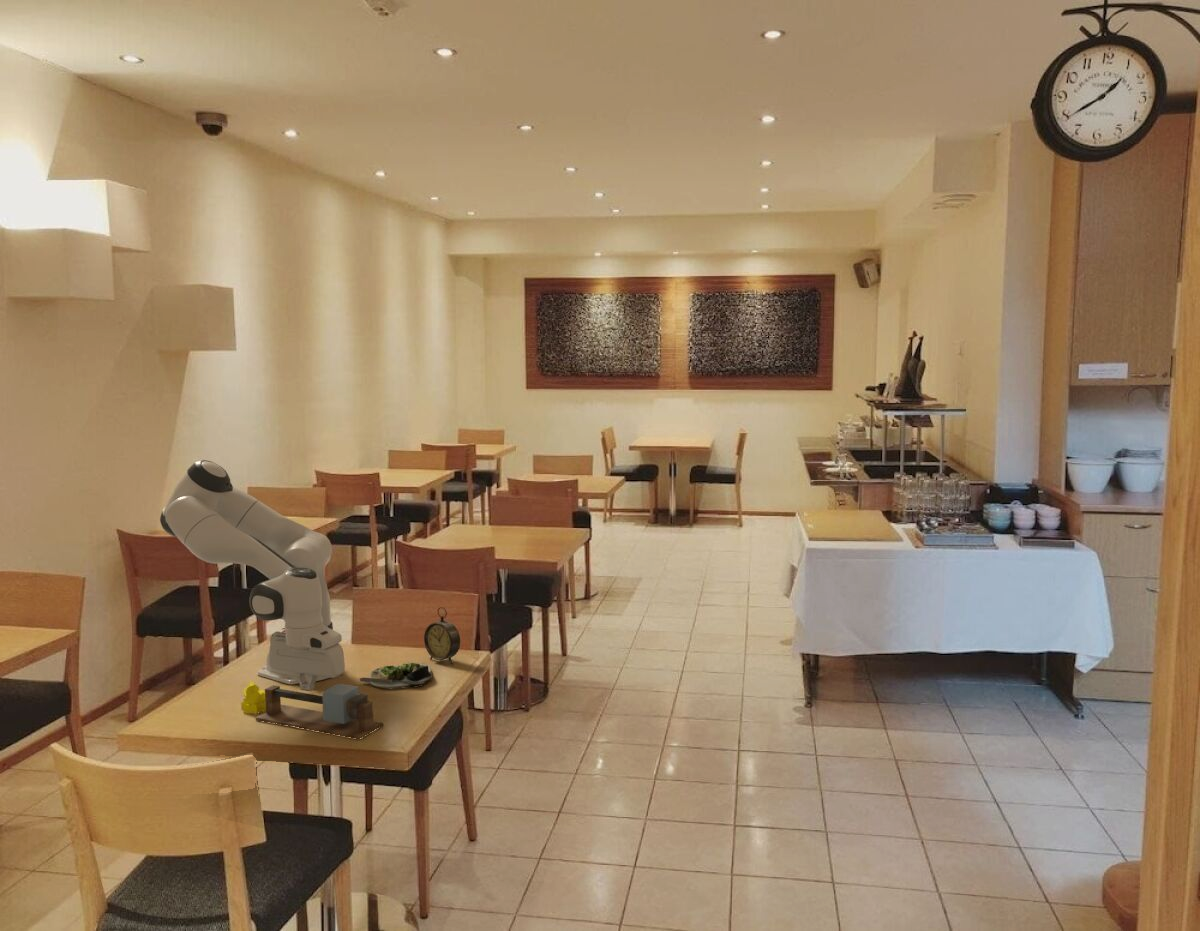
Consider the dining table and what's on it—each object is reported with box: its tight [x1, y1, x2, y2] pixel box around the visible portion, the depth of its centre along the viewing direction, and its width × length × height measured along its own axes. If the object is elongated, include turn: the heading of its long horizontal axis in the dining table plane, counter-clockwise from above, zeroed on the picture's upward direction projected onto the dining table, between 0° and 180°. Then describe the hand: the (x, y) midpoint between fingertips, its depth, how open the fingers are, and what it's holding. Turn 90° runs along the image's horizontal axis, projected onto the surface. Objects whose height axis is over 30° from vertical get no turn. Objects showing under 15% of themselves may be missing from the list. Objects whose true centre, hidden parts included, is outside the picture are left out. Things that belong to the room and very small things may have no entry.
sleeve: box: [321, 683, 360, 724], centre depth 223 cm, size 6×6×7 cm
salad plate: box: [359, 662, 433, 690], centre depth 256 cm, size 19×18×5 cm
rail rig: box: [255, 684, 384, 740], centre depth 226 cm, size 31×9×8 cm, turn 67°
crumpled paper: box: [240, 679, 266, 714], centre depth 236 cm, size 6×8×8 cm
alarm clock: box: [423, 606, 461, 665], centre depth 270 cm, size 11×5×16 cm, turn 55°
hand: (307, 690), depth 228 cm, fingers closed
